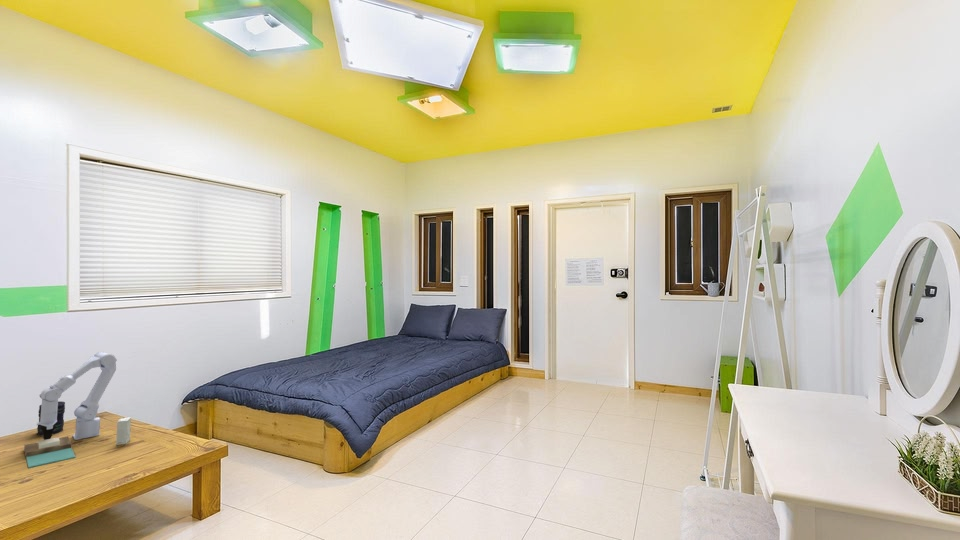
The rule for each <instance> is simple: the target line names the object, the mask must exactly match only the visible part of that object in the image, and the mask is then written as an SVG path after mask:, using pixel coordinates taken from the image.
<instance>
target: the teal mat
mask: <svg viewBox="0 0 960 540" xmlns="http://www.w3.org/2000/svg"><path fill="white" fill-rule="evenodd" d="M71 459H76V455H75V452H74V451H73V448H72V447H71V448H67V449H62V450H57V451H53V452H48V453H43V454H38V455H33V456H29V457H26V456H25V460H26V463H27V467H28V469H31V468H36V467H40V466H44V465H45V466H46V465H48V464H54V463H58V462H62V461H68V460H71Z"/></svg>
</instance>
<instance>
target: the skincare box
mask: <svg viewBox="0 0 960 540" xmlns="http://www.w3.org/2000/svg"><path fill="white" fill-rule="evenodd" d="M131 421H132V417H131V416H128V417H127V416H126V417H121V418H119V419H118V421H116V440H115V444H116V445H117V446H119V445H127V444H128V443H129V442H130V440H131V427H132V426H131V425H132V424H131V423H132V422H131Z"/></svg>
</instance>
